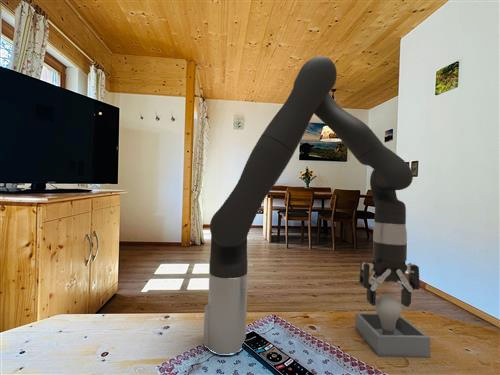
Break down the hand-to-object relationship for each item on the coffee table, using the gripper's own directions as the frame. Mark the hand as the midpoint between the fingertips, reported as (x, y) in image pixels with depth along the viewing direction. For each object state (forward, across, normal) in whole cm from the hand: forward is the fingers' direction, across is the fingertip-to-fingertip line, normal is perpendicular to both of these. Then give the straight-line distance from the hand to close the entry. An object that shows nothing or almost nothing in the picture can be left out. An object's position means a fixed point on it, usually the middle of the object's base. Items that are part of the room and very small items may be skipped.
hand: (388, 304), depth 64 cm
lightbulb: (+9, 0, 0) cm, 9 cm away
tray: (+9, 0, 0) cm, 9 cm away
